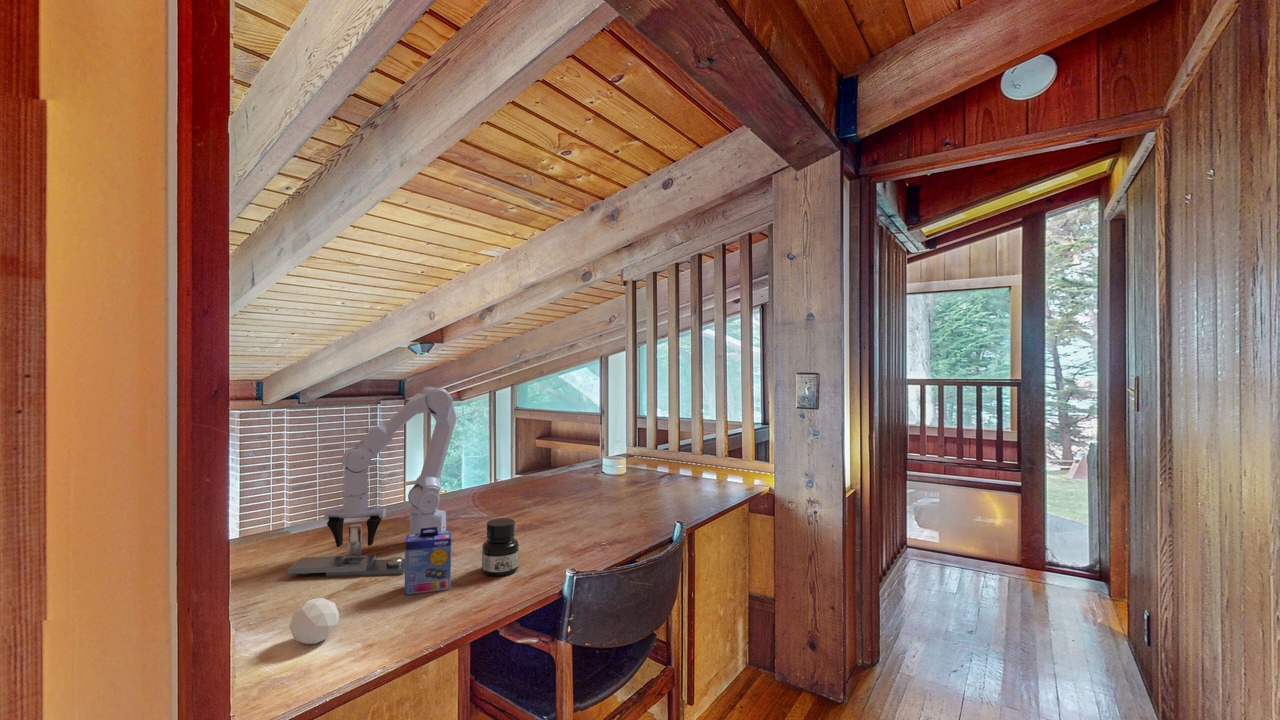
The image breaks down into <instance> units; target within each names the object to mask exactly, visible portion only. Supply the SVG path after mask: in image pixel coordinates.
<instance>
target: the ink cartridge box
mask: <svg viewBox="0 0 1280 720" xmlns="http://www.w3.org/2000/svg"><path fill="white" fill-rule="evenodd" d="M426 530H435V531H433V532H423V531H426ZM404 543H405V544H404V548H405V549H404V559H405V572H404V596H409V595H416V594H423V593H424V594H425V593H433V592H442V591H449V590H450V589H451V586H452V585H451V584H452V583H451V582H452V581H451V580H452V530H446V531H438V530H437V527H429V528H421V531H420V533H416V534H410V533H409V534H406V539H405V542H404Z"/></svg>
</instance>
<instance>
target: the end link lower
mask: <svg viewBox="0 0 1280 720" xmlns="http://www.w3.org/2000/svg"><path fill="white" fill-rule="evenodd" d="M359 563H360V562H350V563H345V564H344V565H353V564H359ZM395 575H405V558H403V557H401V556H392V557H389V558H387V559H376V561H375V562H374V563H373V564H372V565H371V566H370V567H369V568H368V569H367V570H366V571H349V572H325V578H344V577H345V578H347V577H365V576H366V577H369V576H371V577H372V576H395Z"/></svg>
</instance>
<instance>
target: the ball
mask: <svg viewBox="0 0 1280 720" xmlns="http://www.w3.org/2000/svg"><path fill="white" fill-rule="evenodd" d="M339 618H340V613H339V610H338V608H337V605H336V603H335V602H333V601H330V600H328V599H326V598H324V597H319V598H318V597H317V598H313V599H309V600H306V601H305V602H304V603H303V604H301V606H299V607H298V608H297V609H296V610H295V611H293V615H292V618H291V621H290V623H289V626H288V627H289V630H290V633H291V635H292V637H293V640H295V641H298V642H300V643H303V644H305V645H315V644H317V643H321V642H323V641H324V640H325V639H327V638H328V637H330V635H331V634H333V632H334V631H335V630H336V627H337V625H338V621H339Z"/></svg>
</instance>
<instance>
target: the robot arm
mask: <svg viewBox="0 0 1280 720" xmlns="http://www.w3.org/2000/svg"><path fill="white" fill-rule="evenodd" d="M424 413H430V415H431V416H432V417H433V419H434V420H435V424H434V428H433V432H432V435H431V438H430V441H429V445H428V449H427V452H426V454H425V455H426V456H425V458H424V462H423V466H422V469H421V473H420V475H419V476H418V477H417V478H416V480H415V483H414V484H413V487H411V489H410V490H409V492H408V494H407V500H408V502H409V504H411V507H410V510H409V534H416V533H420V531H421V528H429V527H437V530H438V531H447V513H446V510H440V509H438V507H440V504H441V497H440V492H441V483H440V477H441V475H442V471H443V467H444V463H445V460H446V457H447V453H448V451H449V447H450V444H451V443H450V442H451V440H452V436H453V432H454V429H455V425H456V422H457V416H456V411H455V407H454V398H453V396H451V394H450V392H448V390H446V389H445V388H441V387H438V388H437V387H434V386H426V387H424V388H422V389H421V390H420V391H419V392H417V393H416V394H414V395H413V396H412V397H411V398H410V399H409V400H408V401H407V403H405V404H404V405H403V406H402V407H401V408H400V409H399V410H398V411H397V412H396V413H395V414H394V415H393V416H392V417H391V418H390V419H389V420H388V421H387V422H386V423H385V424H384V425H377V426H375V427H374V428H373V427H370V428H369V429H368V430H367V432H368V433H367V434H366V435H365V436H363V438H361V439H360V440H359V441H358V442H357V441H355V442H354V443H353V447H350V448H348V449H347V450H345V451H344V452H343V454H342V457H341V458H340V461H341V464H342V466H343V478H342V479H343V483H342V485H343V490H342V492H343V493H342V494H343V495H342V496H343V497H342V498H343V500H342V508H337V509H327V510H326V511H324V512H323V513H324V517H323V519H324V520H328V521H327V522H326V525H327V527H328V528H329V530H330V531H331V533H332V536H333V538H334V541H335V546H336V547H337V548H340V547H341V546H342V545H343V541H344V536H343V535H344V533H343V531H344V522H345V519H353V518H355V519H356V518H357V519H358V518H359V519H360V518H361V519H362V518H364V519H365V518H368V519H367V520H366V527H367V546H368V547H371V546H373V544H374V540H375V537H376V534H377V529H378V527H379V525H380V524H381V521H382V519H383V518H385V517H386V516H387V515H386V514H387V513H386V512H387V511H386V510H387V509H386V508H383V507H382V508H379V507H378V508H377V507H369V506H368V504H369V503H368V500H369V494H368V493H369V491H368V490H369V489H368V488H369V485H368V483H369V482H368V481H369V475H368V468H369V467H370V466H371V464H372V459H374V458H375V457H377V455H378V454H380V452H382V451H383V450H384V449H385V448H386V447H387V446H389V444H390V443H391V442H393V439H394V437H393V435H394V434H395V433H396V432H397V431H399V430H400V429H401V428H402V427H403V426H404V425H405V424H406V423H407V422H409V421H410V420H411V419H413V418H414V416H416V415H418V414H424ZM433 531H435V530H426V531H423V532H433Z"/></svg>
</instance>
